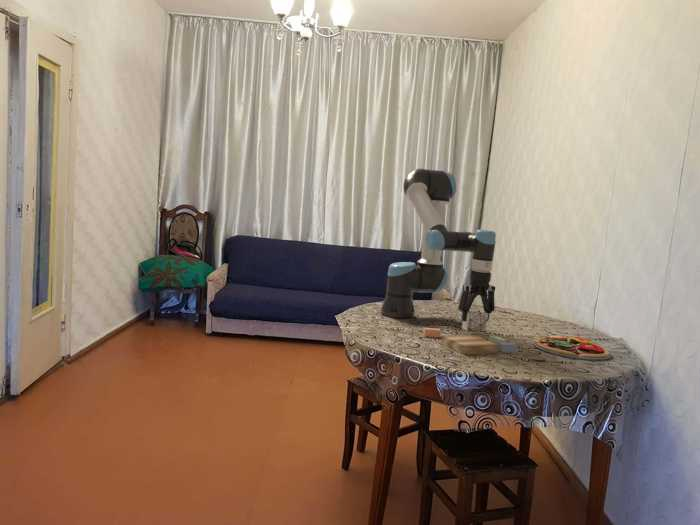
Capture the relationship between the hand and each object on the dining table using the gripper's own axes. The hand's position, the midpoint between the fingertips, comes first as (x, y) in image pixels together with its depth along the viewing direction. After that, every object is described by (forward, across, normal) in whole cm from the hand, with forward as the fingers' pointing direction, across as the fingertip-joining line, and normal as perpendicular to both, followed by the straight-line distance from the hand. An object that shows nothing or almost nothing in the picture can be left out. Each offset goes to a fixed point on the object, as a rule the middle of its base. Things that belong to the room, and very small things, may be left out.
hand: (474, 329), depth 221 cm
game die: (+1, 0, 0) cm, 1 cm away
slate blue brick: (+3, +1, -19) cm, 19 cm away
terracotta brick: (+4, -16, +4) cm, 17 cm away
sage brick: (+4, +3, -11) cm, 12 cm away
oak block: (+3, -12, -14) cm, 18 cm away
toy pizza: (+4, +30, -21) cm, 37 cm away
